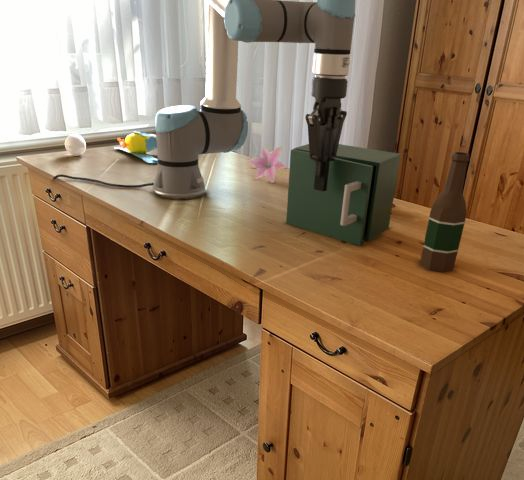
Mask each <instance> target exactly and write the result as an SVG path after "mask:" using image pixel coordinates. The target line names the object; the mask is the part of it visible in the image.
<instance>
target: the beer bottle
mask: <svg viewBox="0 0 524 480" xmlns="http://www.w3.org/2000/svg"><path fill="white" fill-rule="evenodd" d="M450 160H451V162H450V166H449V170H448V173H447V177H446V181H445V185H444V187H443V190H442V192H441V193H440V194H438V195H437V197H436V198H435V200H434V201H433V203H432V205H431V209H430V211H429V216H428V221H427V226H426V231H425V236H424V241H423V246H422V250H421V255H420V256H421V257H420V262H419V263H420V264H419V265H420V266H421V267H422V268H424V269H425V270H428V271H431V272H435V273H436V272H437V273H446V272H452V271H453V270H454V267H455V264H456V261H457V256H458V252H459V248H460V244H461V240H462V235H463V231H464V227H465V224H466V218H467V204H466V203H467V202H466V200H465V197H464V185H465V179H466V173H467V167H468V162H470V154H469V153H467V152H464V151H463V152H462V151H454V152H453V153H452V154H451V156H450Z"/></svg>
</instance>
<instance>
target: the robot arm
mask: <svg viewBox="0 0 524 480" xmlns="http://www.w3.org/2000/svg"><path fill="white" fill-rule="evenodd" d="M355 17H356V0H317V1H295V0H206V50H205V51H206V55H205V57H206V61H205V66H206V67H205V68H206V69H205V73H206V74H205V97H204V98H202V100H201V101H200V109H199V110H198V108H197V106H195V105H189V104H188V105H187V104H186V105H185V104H184V105H173V106H168V107H165V108H162V109H160V110H159V111H157V113H156V114H155V128H154V131H155V136H156V140H157V149H156V153H157V159H158V163H157V169H156V173H155V177H154V181H153V182H149V183H143V184H117V183H110V182H106V181H103V180H98V179H94V178H87V177H80V176H71V175H67V174H63V173H62V174H61V173H60V174H56V175H54V176H53V177H52V180H56V179H58V178H65V179H70V180H80V181H87V182H93V183H97V184H101V185H104V186H109V187H115V188H129V189H130V188H131V189H133V188H143V187H149V186H152V189H153V190H152V191H153V194H154V195H155V196H157V197H159V198H162V199H167V200H168V199H169V200H189V199H196V198H200V197H202V196H204V195H205V194H206V185H205V181H204V177H203V175H202V173H201V170H200V166H199V155H208V154H218V153H219V154H220V153H224V154H226V153H231V152H236V151H238V150H240V149H241V148H242V147H243V146H244V144H245V143H246V140H247V137H248V133H249V122H248V121H249V120H247V119H248V117H247V114H246V112H245V111H244V110H242V104H241V103H240V101H238V99H237V87H238V85H237V83H238V59H239V42H243V43H289V44H290V43H292V44H314V49H313V61H312V71H311V72H312V75H314V77H313V78H312V79H311V89H310V95H311V96H312V97H313V98H314V102H313V107H312V111H311V113H306V115H305V122H306V124H307V135H308V136H307V137H308V144H309V154H310V158H311V159H312V160H315V162H316V163H315V180H314V189H315V190H319V191H327V182H328V173H329V164H330V161H334V159H335V158H332V157H335V156H336V154H337V149H338V145H339V144H340V141H341V135H342V131H343V127H344V123H345V120H346V118H347V115H348V111H346V110H343V109H342V99H345V98H346V97H347V92H348V82H349V80H348V79H347V78H346V77H348V75H349V69H350V64H351V60H350V58H351V53H352V52H351V50H352V42H353V33H354V25H355Z"/></svg>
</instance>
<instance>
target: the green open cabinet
mask: <svg viewBox="0 0 524 480" xmlns="http://www.w3.org/2000/svg"><path fill="white" fill-rule="evenodd" d="M293 149H295V150H300V151H304V152H309V143H306V144H304V145H300V146H297V147H293ZM401 156H402V154H401V153H397V152H393V151H392V152H391V151H385V150H379V149H372V148H367V147H360V146H353V145H348V144H341V143H339V145H338V149H337V154H336V156H335V157H333V158H338V159H342V160H347V161H352V162H356V163H361V164H366V165H371V166H373V172H372V179H371V186H370V193H369V200H368V207H367V214H366V222H365V229H364V236H363V242H370V241H372V240H373V239H375V238H376V237H378V236H379V235H381V234H382V233H383V232H386V230H388V229H389V228H390V221H391V215H392V208H393V202H394V197H395V192H396V187H397V186H396V185H397V179H398V173H399V168H400V162H401V161H400V160H401Z"/></svg>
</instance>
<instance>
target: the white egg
mask: <svg viewBox="0 0 524 480" xmlns="http://www.w3.org/2000/svg"><path fill="white" fill-rule="evenodd" d="M64 148H65V150H66V152H67V153H68V154H70V155H71V156H74V157H80V156H82V155H83V154H84V153H85V152H86V149H87V144H86V141H85V139H84V138H83V137H82V136H81V135H79V134H76V133H75V134H74V133H73V134H69V135H68V136H67V137H66V138H65V140H64Z"/></svg>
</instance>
